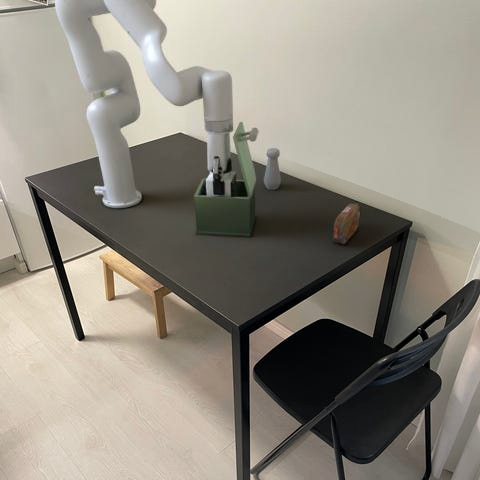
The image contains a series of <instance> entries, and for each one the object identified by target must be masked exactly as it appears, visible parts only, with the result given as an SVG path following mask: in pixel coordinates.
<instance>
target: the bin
mask: <svg viewBox="0 0 480 480" xmlns="http://www.w3.org/2000/svg"><path fill="white" fill-rule="evenodd" d="M206 179H207V178H205V177H204V178H202V179H201V181H200V183H199V185H198V187H197V189H196V191H195V193H194V195H193V202H194V203H193V204H194V215H195V226H196V234H197V235H206V236H207V235H208V236H225V237H226V236H227V237H242V238H243V237H245V238H251V236H252V231H253V227H254V225H255V224H254V223H255V220H256V184H255V185H254V189H253V192H252V196H251V197H248V193H247V190H246V186H245V182H244V179H236V193H237V194H236V197H227V196H207V189H206Z"/></svg>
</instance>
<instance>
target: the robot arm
mask: <svg viewBox="0 0 480 480" xmlns="http://www.w3.org/2000/svg"><path fill="white" fill-rule="evenodd" d="M156 6H157V0H54V7H55V12H56V16H57V19H58V21H59V24H60V26H61V28H62V30H63V32H64V35H65V37H66V39H67V42H68V45H69V48H70V51H71V55H72V58H73V61H74V64H75V66H76V70H77V73H78V77H79V80H80V82H81V85H82V87H83V89H84V90H85V91H86V92H88V93H90V94H100V93H103V92H106V91H109V92H110V94H106V95H104V96H101V97H98V98H96V99H95V100H93V101H92V102H91V103H89V105H88V107H87V109H86V121H87V123H88V125H89V128H90V130H91V133H92V136H93V139H94V143H95V147H96V151H97V155H98V160H99V165H100V170H101V175H102V179H103V186H101V185H95V186H94V188H93V190H94V192H95V196H96V195H97V196H100V195H101V196H103V197H102V203H103V205H104V206H106V207H108V208H112V209H124V208H125V209H126V208H130V207H133V206H136V205H138V204H139V203H140V202H141V201H142V198H143V197H142V193H141V192H140V191H139V190H137V189H136V183H135V177H134V170H133V164H132V158H131V151H130V147H129V143H128V141H127V139H126V137H125V136H124V134H123V132H122V131H121V129H123V128H125V127H127V126H129V125H131V124H133V123H135V122H136V121H137V120H138V119H139V118H140V116H141V102H140V99H139V95H138V91H137V87H136V83H135V80H134V75H133V71H132V68H131V65H130V64H129V61H128V60H127V58H126V57H125V56H124V54H122V53H121V52H119V51H117V50H115V49H108V50H104V46H103V44H102V40H101V36H100V34H99V32H98V31H97V29H96V28H95V26H94V25H93V24H92V22H91V21H90V20H89V19H90V17H97V16H103V15H106V14H107V15H108V14H111V16H112V17H113V18H114V19H115V20H116V22H117V23H118V24H119V25H120V26H121V28H122V29H123V30H124V31H125V32H126V34H128V36H129V37H130V38H131V40H132V41H133V43H135V45H136V46H137V47H138V48H139V49H140V51H141V54H142V62H143V67H144V68H145V72H146V74H147V77H148V79H149V81H150V82H151V84H152V85H153V86H154V87H155V88H156V90H158V93H160V94H161V96H162V97H163V98H164V99H165V100H166V101H167V102H169V103H170V104H171V105H173V106H176V107H184V106H187V105H189V104H191V103H194V102H195V101H199V100H201V99H202V108H203V124H204V132H205V133H206V134H207V139H206V140H207V141H206V142H207V143H206V147H207V148H206V151H207V152H206V153H207V157H206V158H207V171H208V172H210V171H211V170H212V169H213V194H214V195H225V182H224V181H223V176H224V171H225V170H226V168H227V162H228V159H229V158H230V159H231V133H232V132H233V131H234V102H233V98H234V97H233V78H232V74H231V73H230V72H228V71H226V70H213V69H209V68H206V67H203V66H198V65H196V66H191V67H190V66H189V67H188V68H185V69H183V70H179V71H177V70H176V69H175V68H174V67H173V66H172V64H171V63H170V62H169V60H168V59H167V58H166V56H165V54H164V51H163V47H162V44H163V43H164V41H165V39H166V37H167V34H168V28H167V25H166V23H165V22H164V21H163V20H162V18H161V17H160V16H159V15H158V14H157V13H156V12H155V10H154V9H155V8H156ZM219 167H221V168H222V170H219ZM219 172H221V176H220V174H219Z"/></svg>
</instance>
